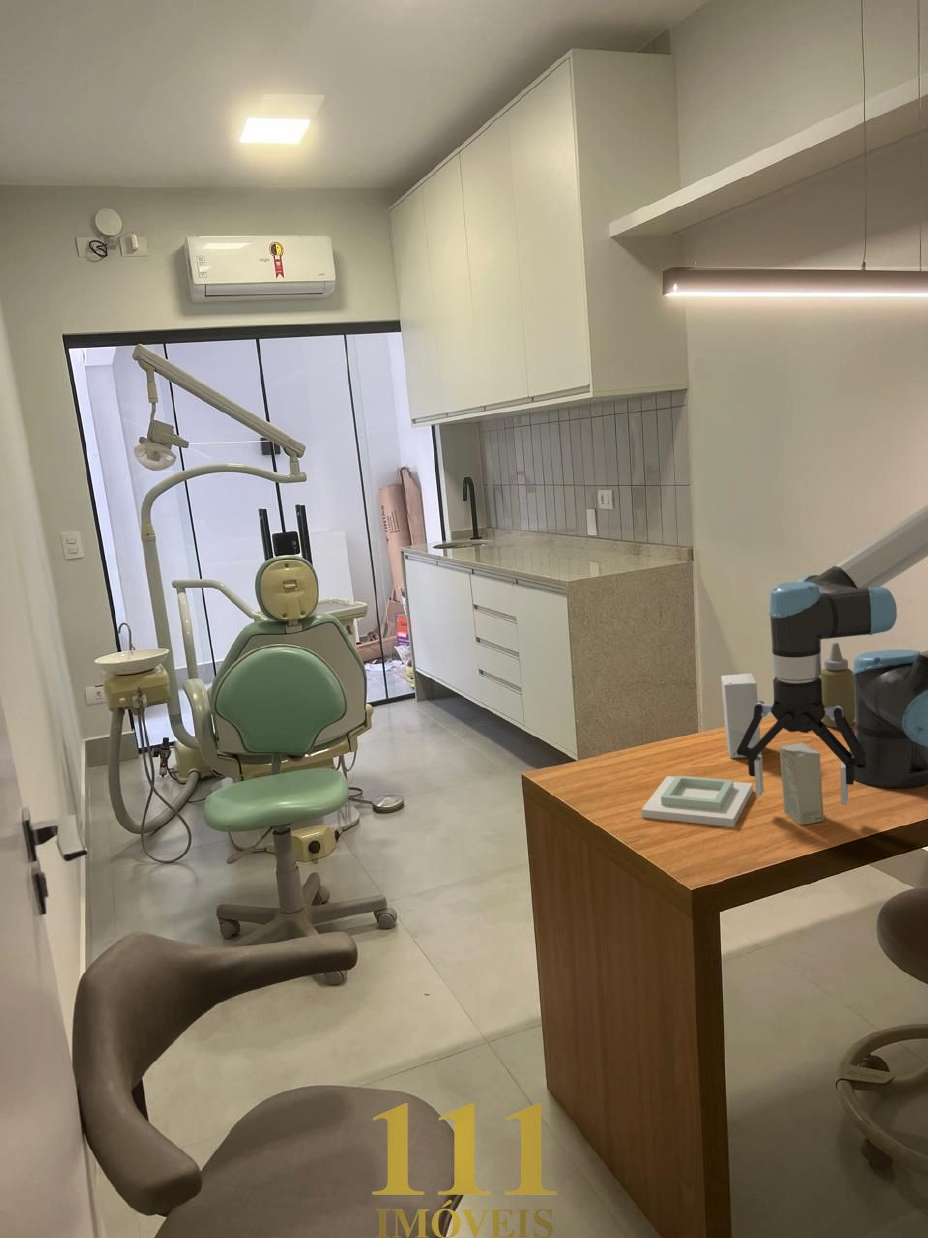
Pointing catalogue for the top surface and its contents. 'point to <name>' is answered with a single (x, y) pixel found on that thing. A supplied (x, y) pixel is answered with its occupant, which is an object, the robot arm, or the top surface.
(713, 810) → the collar plate
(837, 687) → the squeeze bottle
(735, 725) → the skincare box
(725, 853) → the top surface
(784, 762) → the skincare box
